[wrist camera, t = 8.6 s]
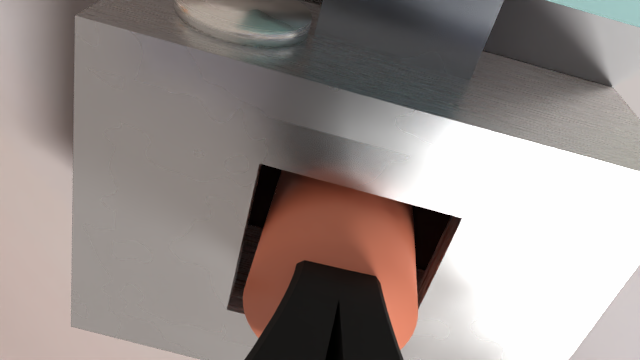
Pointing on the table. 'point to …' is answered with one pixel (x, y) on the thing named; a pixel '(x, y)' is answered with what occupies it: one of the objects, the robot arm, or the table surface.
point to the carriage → (608, 9)
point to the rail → (413, 30)
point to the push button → (334, 246)
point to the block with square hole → (337, 177)
